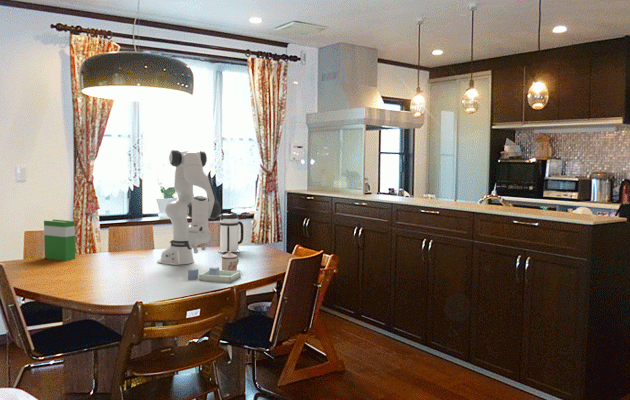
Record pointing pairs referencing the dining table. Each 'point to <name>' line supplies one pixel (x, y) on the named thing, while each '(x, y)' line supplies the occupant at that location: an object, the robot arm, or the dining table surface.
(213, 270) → the blue block
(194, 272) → the blue block
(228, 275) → the sage tray
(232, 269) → the teacup with lid
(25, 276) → the dining table surface
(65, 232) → the cereal box
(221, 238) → the coffee press
